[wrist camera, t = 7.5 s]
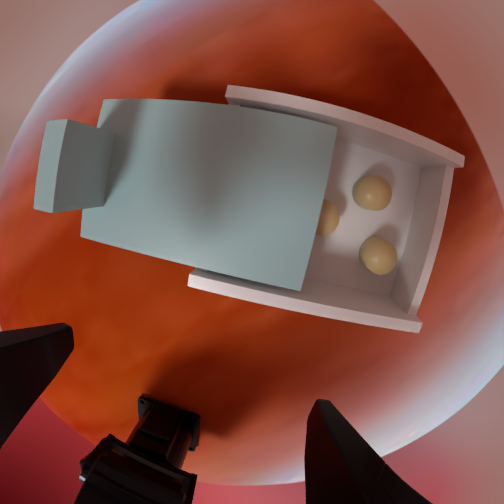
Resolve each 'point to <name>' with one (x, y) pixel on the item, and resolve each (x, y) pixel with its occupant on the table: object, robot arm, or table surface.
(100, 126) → the lid
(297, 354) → the table surface
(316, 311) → the parts tub
